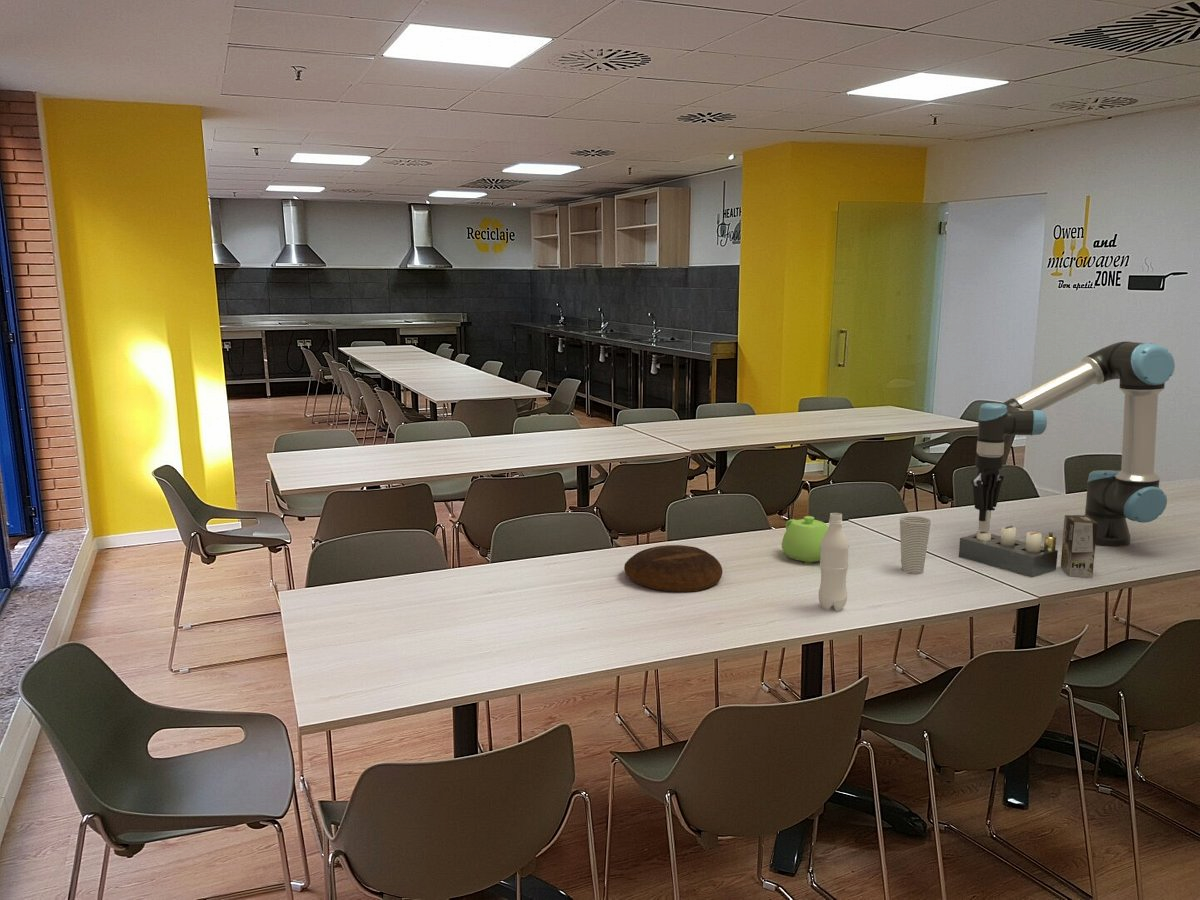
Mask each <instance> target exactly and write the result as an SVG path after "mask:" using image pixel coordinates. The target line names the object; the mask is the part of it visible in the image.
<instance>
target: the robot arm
mask: <svg viewBox="0 0 1200 900" xmlns="http://www.w3.org/2000/svg"><path fill="white" fill-rule="evenodd" d="M1175 365H1176V364H1175V359H1174V357H1173V354H1172V353H1171V352H1170V351H1169V349H1167V348H1166V347H1165V346H1163V345H1159V344H1155V343H1152V342H1135V341H1118V342H1115V343H1112V344H1109V345H1107V346H1105V347H1102V348H1100V349H1098V350H1096V351H1094V352H1092V353H1090V354H1088V355H1087V356H1085V357H1083V358H1082V359H1081V362H1080V363H1078V364H1076V365H1074V366H1071V367H1070V368H1068V369H1067V370H1066V369H1065V371H1063V372H1061V373H1058V374H1056V375H1054V376H1052V377H1051V378H1049V379H1047V380H1045V381H1043V382H1041V383H1039V384H1037V385H1035V386H1034V387H1031V388H1029V389H1027V390H1026V391H1023V392H1021V393H1020V394H1018V395H1016V396H1014V397H1013V398H1009V399H1008V400H1006V401H1004V402H992V403H991V402H988V403H983V404H981V405H980V407H979V412H978V418H977V420H978V425H977V439H976V440H977V442H976V455H975V464H974V465H975V467H976V468H977V469H978V470H977V473H976V478H972V479H971V485H972V491H973V501H974V503H973V504H974V509H976V510H978V513H979V514H978V529H977V530H978V531H983V532H990V528H991V524H990V523H991V516H992V511H995V510H996V507H997V505H998V500H999V496H1000V493H1001V492H1000V491H1001V487H1002V483H1003V480H1004V478H1005V477H1004V475H1000V471H999V470H1001V469H1002V468H1003V466H1004V465H1003V463H1004V462H1003V461H1004V457H1003V456H1004V454H1005V453H1004V451H1005V437H1006V436H1037V435H1042V434H1044V432H1045V431H1046V429H1047V426H1048V419H1047V418H1048V417H1047V415H1046V413H1045V412H1044V411H1043V410H1044V409H1047V408H1048V407H1051V406H1053V405H1054V404H1056V403H1058V402H1061V401H1063V400H1065V399H1066V398H1068V397H1071V396H1072V395H1074V394H1077V393H1078V392H1080V391H1083V390H1084V389H1086V388H1089V387H1090V386H1092V385H1102V384H1104V383H1106V382H1107V381H1112V380H1119V388H1118V389H1119V390H1120V391H1121V392H1122V393H1123V394H1124V404H1123V405H1124V407H1123V409H1124V410H1123V426H1122V447H1121V449H1122V450H1121V469H1120V470H1114V469H1113V470H1111V469H1110V470H1108V469H1107V470H1106V469H1102V470H1093V471H1091V472H1090V473H1089V474H1088V479H1087V481H1086V484H1087V489H1086V499H1085V500H1086V501H1085V510H1084V515H1085V516H1088V517H1090V518H1091V519H1093V520H1094V521H1096V522H1097V523H1098V525H1097V535H1096V545H1098V546H1104V547H1106V546H1107V547H1124V546H1128V545H1130V543H1131V533H1130V530H1129V525H1128V522H1127V520H1130V521H1132V522H1138V523H1143V524H1144V523H1151V522H1153V521H1155V520H1156V519H1158V517H1159V516H1162V514H1163V513H1164V511H1165V509H1166V508H1167V504H1168V499H1167V494H1166V493H1165V492H1164V491H1163V490H1162V488H1160V477H1159V475H1157V473H1156V472H1155V463H1156V462H1155V457H1156V442H1157V441H1156V439H1157V438H1156V437H1157V423H1158V422H1157V419H1158V405H1159V404H1158V401H1159V395H1160V393H1161V392H1162V391H1164V389H1165V383H1166V382H1167V381H1169V380H1170V377H1172V376H1173V374H1174V371H1175V367H1176V366H1175ZM1096 545H1095V546H1096Z"/></svg>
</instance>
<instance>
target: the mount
mask: <svg viewBox="0 0 1200 900" xmlns="http://www.w3.org/2000/svg"><path fill="white" fill-rule="evenodd" d="M1000 541H1001V535H998V534H994V533H991V540H988V541H984V540H980V539H977V533H974V534H971V535H970V534H969V535H967V536H961V537H959V548H958V557H959V558H962V559H966V560H968V561H972V562H975V563H980V564H984V565H987V566H990V567H994V568H998V569H1001V570H1003V571H1008V572H1011V573H1015V574H1017V575H1023V576H1027V577H1030V578H1035V577H1038V575H1039V576H1042V575H1045V574H1047V573H1051V572H1055V571H1057V565H1058V554H1059V551H1058V549H1055V551H1053V552H1050V551H1045V550H1044V545H1041V552H1040V553H1037V554H1035V553H1031V552H1027V551H1025V548H1026V541H1023V540H1018V539H1015V546H1013V547H1007V546H1003V545H1000Z"/></svg>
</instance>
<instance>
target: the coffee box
mask: <svg viewBox="0 0 1200 900" xmlns="http://www.w3.org/2000/svg"><path fill="white" fill-rule="evenodd" d="M1097 525H1098V523H1097V522H1096V521H1094V520H1093V519H1091V518H1090V517H1088V516H1085V514H1084V515H1083V514H1079V515H1077V514H1075V515H1074V514H1073V515H1071V514H1069V515H1068V514H1065V515H1064V520H1063V533H1062V547H1061V558H1060V568H1061V569H1062V571H1063V572H1065V573H1066V574H1067V575H1068V576H1069V577H1078V578H1090V577H1091V578H1093V575H1094V573H1093V572H1094V564H1095V553H1096V535H1097Z"/></svg>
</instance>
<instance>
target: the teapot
mask: <svg viewBox="0 0 1200 900" xmlns="http://www.w3.org/2000/svg"><path fill="white" fill-rule="evenodd" d="M828 528H829V526H828V524H826V523H825V522H824V521H821V520H817V519H815V517H814V516H811V515H805V516H803V518H801V519H794V518H793V519H792V518H791V519H788V520H787V521H786V523H785V532H784V534H783V538H782V539H781V540H782V542H781V549H782V551H783V553H784V554H785V555H786V556H787V557H788V558H789V557H790V558H789V559H794V560H796V561H802V562H803V564H806V563H807V565H809V564H812V562H813V563H814V562H820V557H821V546H820V545H821V541H822V538H823V537H824V535H825V533H826V532H827V530H828Z"/></svg>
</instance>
